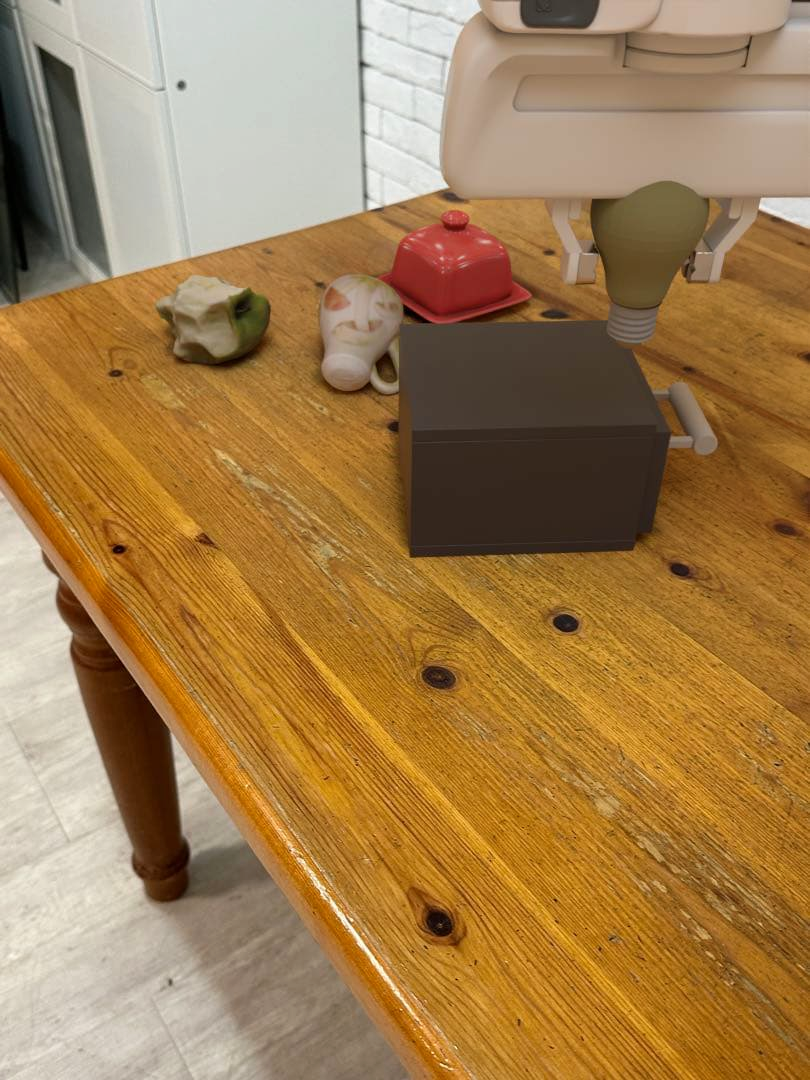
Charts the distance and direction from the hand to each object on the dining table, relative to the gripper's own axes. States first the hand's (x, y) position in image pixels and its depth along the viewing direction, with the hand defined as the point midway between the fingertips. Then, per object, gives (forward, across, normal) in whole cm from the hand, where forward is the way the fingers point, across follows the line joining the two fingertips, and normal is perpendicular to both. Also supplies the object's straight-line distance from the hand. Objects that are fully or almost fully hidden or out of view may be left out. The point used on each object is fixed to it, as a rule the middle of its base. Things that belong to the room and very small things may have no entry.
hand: (637, 279), depth 52 cm
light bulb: (+4, 0, 0) cm, 4 cm away
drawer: (+20, -1, -11) cm, 23 cm away
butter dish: (+21, +5, -42) cm, 47 cm away
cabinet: (+21, +3, -11) cm, 24 cm away
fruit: (+21, +26, -33) cm, 47 cm away
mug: (+21, +14, -29) cm, 39 cm away
